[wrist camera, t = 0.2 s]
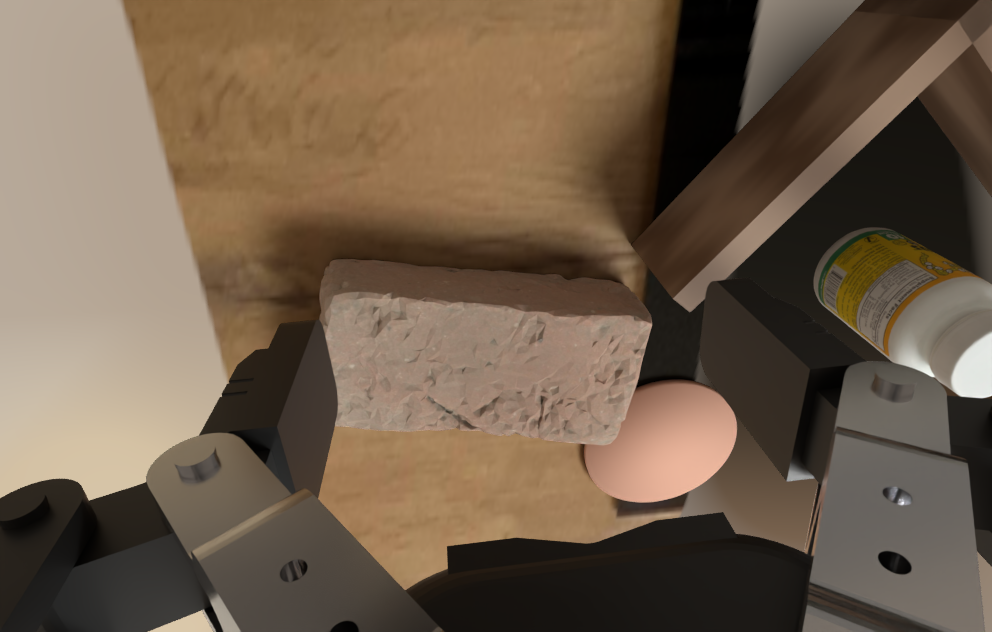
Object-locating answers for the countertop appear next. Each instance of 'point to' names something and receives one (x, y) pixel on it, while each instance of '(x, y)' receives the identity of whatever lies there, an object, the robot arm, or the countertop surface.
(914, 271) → the supplement bottle
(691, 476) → the pink round coaster
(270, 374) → the robot arm
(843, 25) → the wooden frame
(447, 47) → the countertop surface
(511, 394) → the brick
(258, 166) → the countertop surface
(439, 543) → the countertop surface
